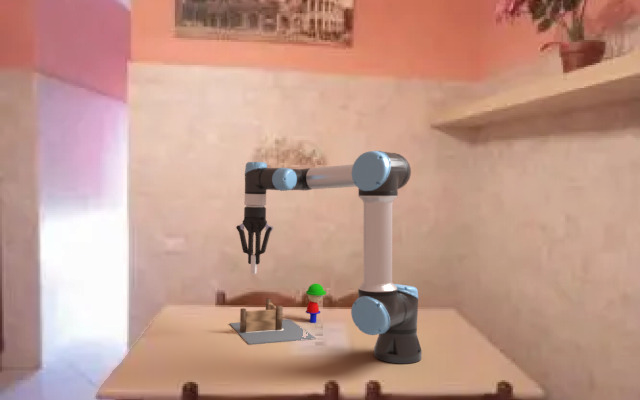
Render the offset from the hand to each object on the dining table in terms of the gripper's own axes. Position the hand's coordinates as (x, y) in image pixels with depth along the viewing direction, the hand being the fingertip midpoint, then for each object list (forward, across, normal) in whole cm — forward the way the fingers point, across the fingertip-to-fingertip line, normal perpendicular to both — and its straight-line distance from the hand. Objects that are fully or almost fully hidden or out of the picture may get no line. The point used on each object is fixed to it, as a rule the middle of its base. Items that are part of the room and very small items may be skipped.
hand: (253, 273), depth 200 cm
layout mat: (+22, -5, -8) cm, 24 cm away
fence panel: (+21, 0, -6) cm, 22 cm away
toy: (+23, -18, -26) cm, 39 cm away
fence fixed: (+22, -4, -15) cm, 27 cm away
